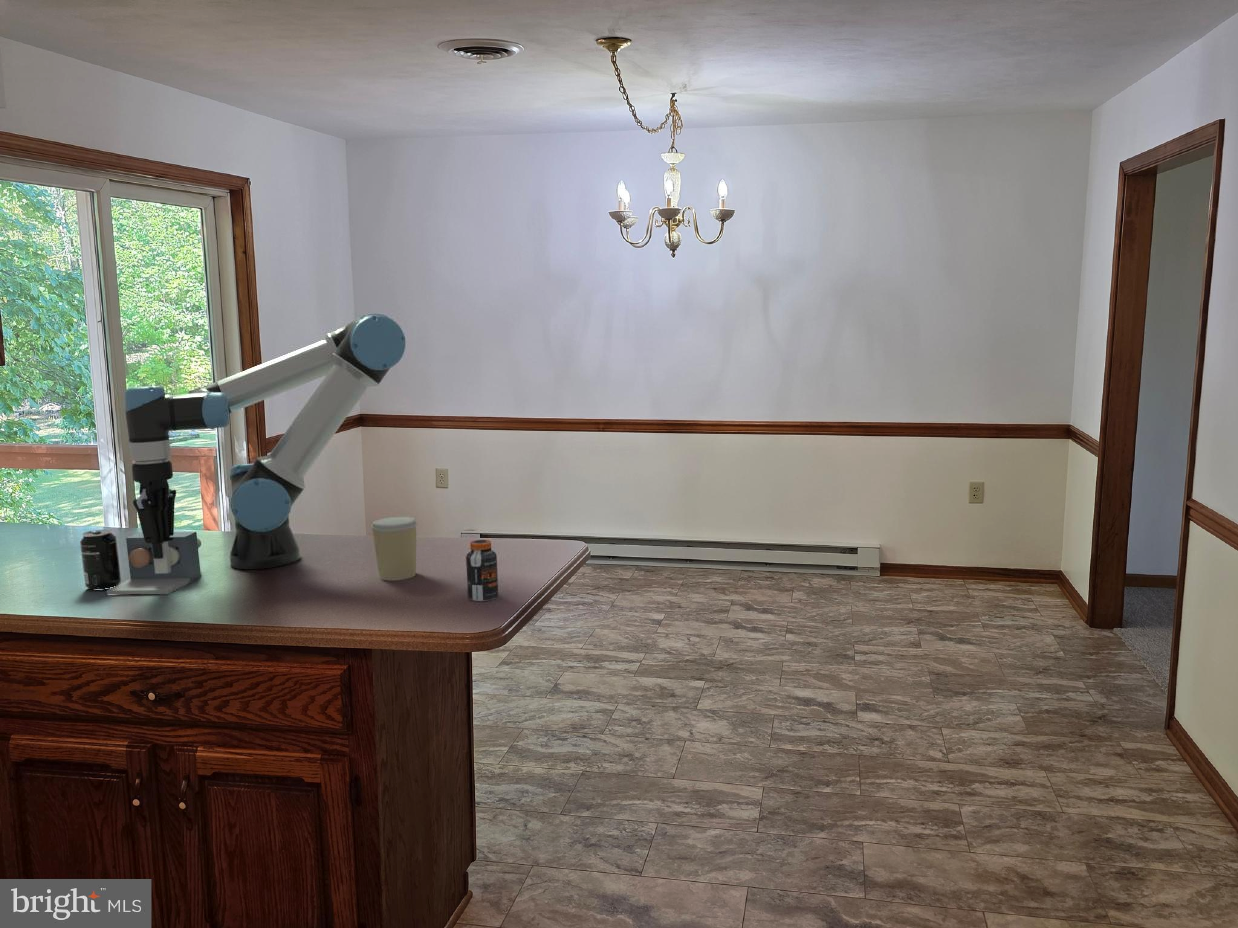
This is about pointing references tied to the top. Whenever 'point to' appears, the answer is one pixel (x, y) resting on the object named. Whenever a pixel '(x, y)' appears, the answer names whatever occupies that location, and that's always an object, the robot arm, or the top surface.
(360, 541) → the top surface
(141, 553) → the tan flanged peg
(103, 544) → the beverage can
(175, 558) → the knob ivory
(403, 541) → the coffee cup
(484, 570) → the pill bottle
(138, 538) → the mount
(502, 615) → the top surface
